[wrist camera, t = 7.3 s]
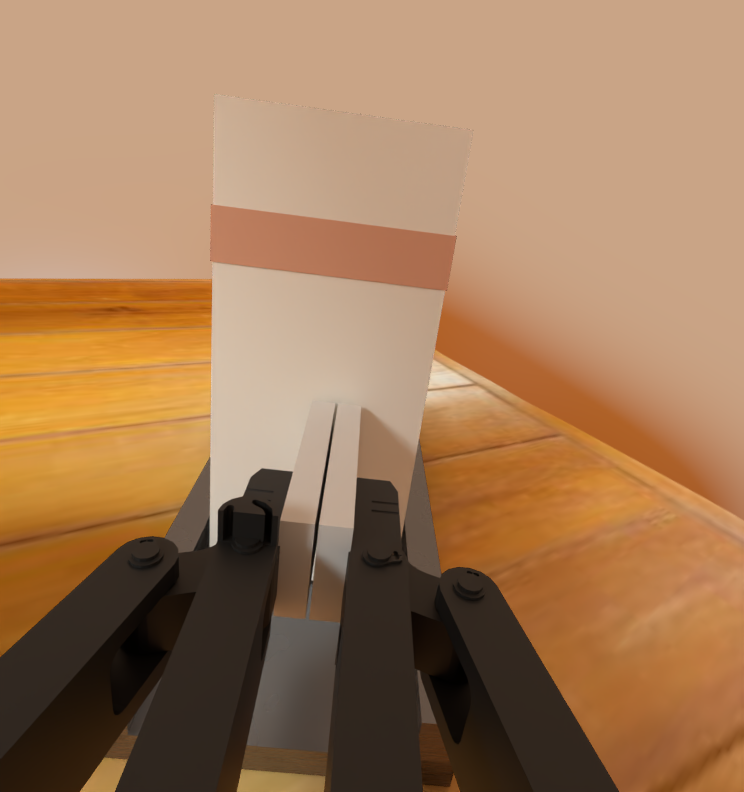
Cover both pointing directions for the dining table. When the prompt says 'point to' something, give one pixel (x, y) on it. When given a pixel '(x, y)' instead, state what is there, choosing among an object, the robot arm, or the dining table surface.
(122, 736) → the chute
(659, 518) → the dining table surface
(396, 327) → the block
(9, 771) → the robot arm
